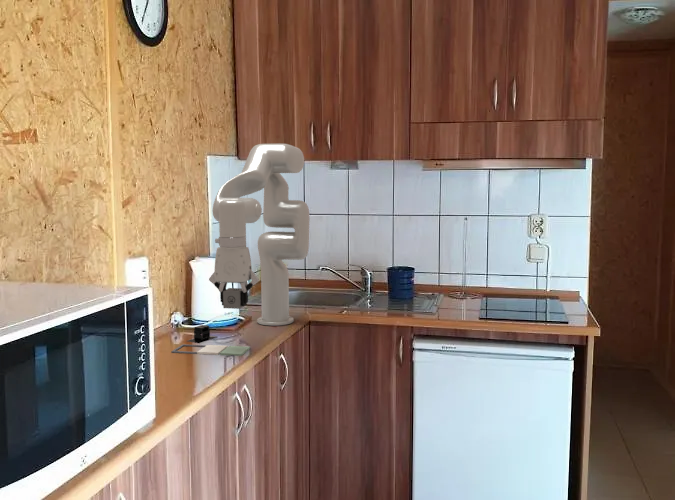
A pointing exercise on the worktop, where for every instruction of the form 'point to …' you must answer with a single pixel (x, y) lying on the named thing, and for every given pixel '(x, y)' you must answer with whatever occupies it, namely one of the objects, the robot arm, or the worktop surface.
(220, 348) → the game board
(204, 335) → the black angular block
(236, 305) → the dice cube
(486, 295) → the worktop surface
